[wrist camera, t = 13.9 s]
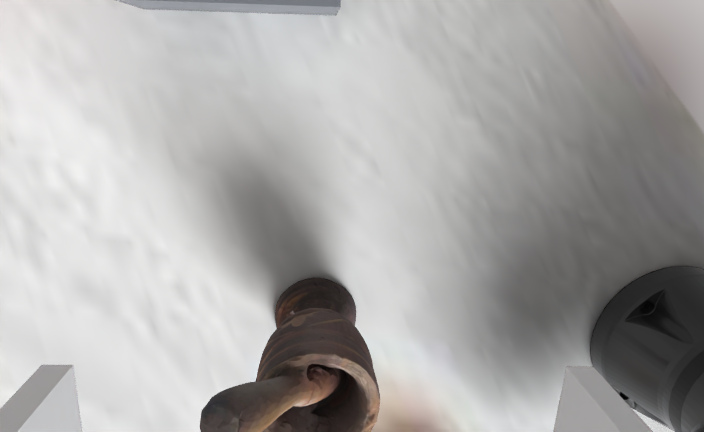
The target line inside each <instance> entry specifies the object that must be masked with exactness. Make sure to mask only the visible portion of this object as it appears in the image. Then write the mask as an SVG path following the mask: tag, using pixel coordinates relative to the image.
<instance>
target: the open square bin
mask: <svg viewBox="0 0 704 432" xmlns="http://www.w3.org/2000/svg"><path fill="white" fill-rule="evenodd" d="M116 1H119V2H123V3H126V4H129V5H132V6H136V7H139V8H142V9H159V10H189V11H220V12H251V13H282V14H312V15H336V14H337V12H338V10H339V9H340V0H116Z"/></svg>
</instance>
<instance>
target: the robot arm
mask: <svg viewBox="0 0 704 432" xmlns="http://www.w3.org/2000/svg"><path fill="white" fill-rule="evenodd" d="M591 359H592V363H593V367H566V371H565V376H564V381H563V386H562V391H561V396H560V401H559V406H558V411H557V416H556V421H555V426H554V431H553V432H653V431H652V430H651V429H650V428H649V427H648V426H647V425H646V424H645V423H644V421H643V420H642V419H641V418H640V417H639V416H638V415H637V414H636V413H635V412H634V411H633V410H632V408H633V409H635V410H637V411H638V412H640V413H642V414H644V415H645V416H647V417H649V418H651V419H653V420H655V421H657V422H658V423H660V424H662V425H664V426H666V427H668V428H669V429H671V430H673V431H675V432H704V269H701V268H697V267H689V266H677V267H670V268H665V269H661V270H657V271H654V272H652V273H649V274H647V275H645V276H643V277H641V278H639V279H637V280H635V281H634V282H632V283H631V284H629V285H628V286H627V287H625V288H624V289H623V290H622V291H621V292H619V293H618V294H617V295H616V296H615V297H614V298H613V299H612V301H611V302H610V303H609V304H608V305H607V307H606V308H605V310H604V311H603V313H602V314H601V316H600V318H599V320H598V322H597V324H596V326H595V329H594V332H593V336H592V341H591ZM0 432H82V425H81V418H80V411H79V404H78V396H77V389H76V382H75V375H74V368H73V365H41V366H40V367H39V369H38V370H37V371H36V372H35V373H34V374H33V375H32V376H31V377H30V378H29V379H28V380H27V381H26V382H25V383H24V384H23V385H22V387H21V388H20V389H19V390H18V391H17V392H16V393H15V394H14V395H13V396H12V397H11V398H10V399H9V400H8V401H7V402H6V404H5V405H4V406H3V407H2V408H1V409H0Z"/></svg>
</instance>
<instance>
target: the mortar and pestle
mask: <svg viewBox="0 0 704 432" xmlns="http://www.w3.org/2000/svg"><path fill="white" fill-rule="evenodd" d="M275 320H276V326H277V330H276V331H275V332H274V333H273V334H272V336H271V337H270V339H269V341H268V343H267V345H266V347H265V349H264V351H263V354H262V357H261V361H260V364H259V368H258V373H257V378H256V382H250V383H245V384H242V385H238V386H235V387H232V388H229V389H226V390H224V391H222V392H220V393H218V394H216V395H215V396H213V397H212V398H211V399H210V401H209V402H208V404H207V405H206V406H205V407H204V409H203V410H202V413H201V421H200V430H201V432H371V430H372V428H373V426H374V425H375V423H376V422H377V416H378V412H379V406H380V394H379V388H378V384H377V380H376V377H375V373H374V369H373V364H372V359H371V356H370V352H369V350H368V347H367V345H366V343H365V341H364V339H363V337H362V336H361V334H360V333H359V331H358V330H357V328H356V327H355V321H356V306H355V303H354V300H353V298H352V297H351V295H350V294H349V293H348V292H347V290H346V289H345V288H343V287H341V286H340V285H338V284H337V283H335V282H332V281H329V280H327V279H322V278H312V279H306V280H302V281H299V282H297V283H296V284H294V285H293V286H291V287H289V288H288V289H287V290H286V291H285V292H284V293H283V294H282V296H281V297H280V299H279V300H278V302H277V305H276V312H275Z"/></svg>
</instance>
